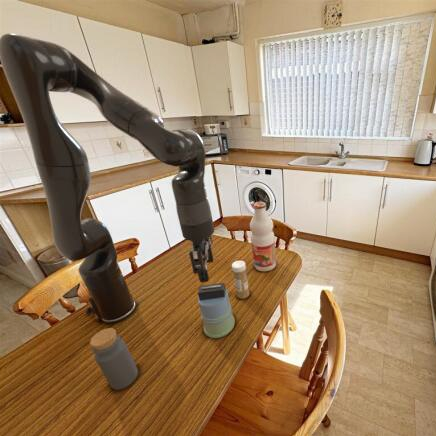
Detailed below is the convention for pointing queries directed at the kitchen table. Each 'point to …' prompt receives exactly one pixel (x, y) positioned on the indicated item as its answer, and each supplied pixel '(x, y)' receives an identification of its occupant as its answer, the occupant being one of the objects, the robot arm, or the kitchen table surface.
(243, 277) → the sprinkles bottle
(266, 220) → the fruit juice
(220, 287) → the clip
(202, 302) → the stacked cups
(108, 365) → the bottle
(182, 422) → the kitchen table surface
